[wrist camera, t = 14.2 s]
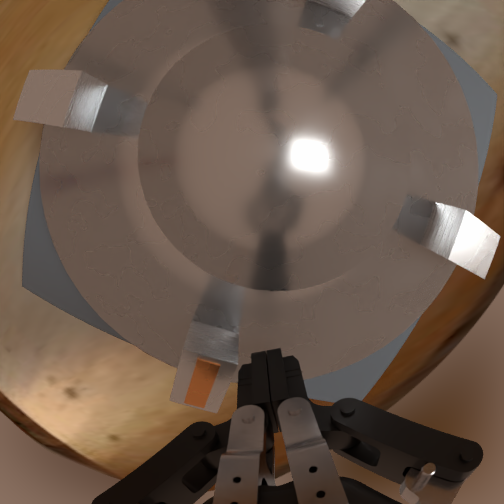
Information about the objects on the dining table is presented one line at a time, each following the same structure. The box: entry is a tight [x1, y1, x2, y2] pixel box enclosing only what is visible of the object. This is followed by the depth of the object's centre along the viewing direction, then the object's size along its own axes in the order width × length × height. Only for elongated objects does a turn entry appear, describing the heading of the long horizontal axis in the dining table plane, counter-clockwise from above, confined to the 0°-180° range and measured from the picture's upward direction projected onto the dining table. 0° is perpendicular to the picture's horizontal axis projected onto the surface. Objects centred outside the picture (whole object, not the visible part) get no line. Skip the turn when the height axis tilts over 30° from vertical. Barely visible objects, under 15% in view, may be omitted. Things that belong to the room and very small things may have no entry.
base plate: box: [22, 0, 497, 402], centre depth 14 cm, size 26×26×2 cm
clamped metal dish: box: [13, 0, 500, 413], centre depth 11 cm, size 24×24×4 cm
